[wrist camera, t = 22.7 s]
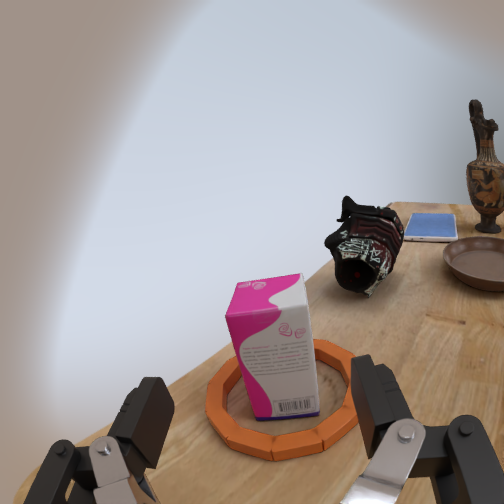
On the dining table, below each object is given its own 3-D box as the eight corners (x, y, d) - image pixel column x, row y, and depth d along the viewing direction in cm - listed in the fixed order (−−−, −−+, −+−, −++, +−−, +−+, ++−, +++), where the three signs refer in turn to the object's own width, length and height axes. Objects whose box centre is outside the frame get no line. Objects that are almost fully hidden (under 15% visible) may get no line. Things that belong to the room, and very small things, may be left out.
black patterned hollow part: (421, 305, 34) (418, 248, 44) (372, 213, 30) (376, 172, 40) (355, 325, 40) (366, 269, 50) (300, 247, 37) (322, 201, 47)
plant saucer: (547, 298, 24) (551, 278, 23) (444, 298, 33) (446, 278, 32) (518, 252, 37) (520, 236, 36) (439, 251, 47) (440, 235, 46)
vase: (475, 237, 49) (463, 93, 39) (461, 221, 59) (450, 100, 50) (517, 235, 44) (508, 96, 34) (499, 220, 54) (489, 101, 45)
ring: (206, 468, 18) (200, 459, 18) (214, 362, 33) (211, 351, 32) (387, 432, 18) (390, 421, 18) (339, 337, 32) (338, 326, 32)
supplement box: (316, 373, 28) (304, 270, 24) (320, 416, 22) (310, 306, 18) (260, 378, 28) (236, 279, 25) (254, 422, 23) (222, 316, 19)
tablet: (457, 243, 48) (457, 237, 48) (401, 241, 56) (401, 235, 56) (455, 218, 62) (455, 213, 62) (411, 217, 70) (411, 212, 70)
